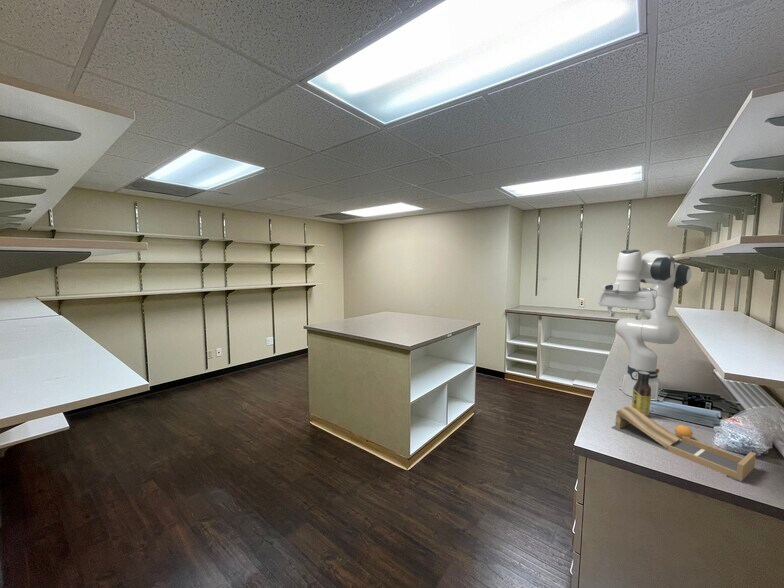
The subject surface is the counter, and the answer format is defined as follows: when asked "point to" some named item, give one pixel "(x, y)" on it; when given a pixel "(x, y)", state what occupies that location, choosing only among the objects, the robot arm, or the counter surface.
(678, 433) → the ball
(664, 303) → the robot arm
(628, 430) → the lane
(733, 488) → the counter surface
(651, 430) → the ramp
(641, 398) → the sauce bottle
